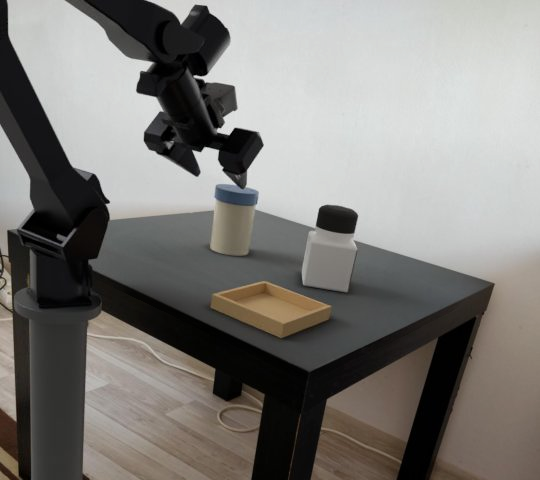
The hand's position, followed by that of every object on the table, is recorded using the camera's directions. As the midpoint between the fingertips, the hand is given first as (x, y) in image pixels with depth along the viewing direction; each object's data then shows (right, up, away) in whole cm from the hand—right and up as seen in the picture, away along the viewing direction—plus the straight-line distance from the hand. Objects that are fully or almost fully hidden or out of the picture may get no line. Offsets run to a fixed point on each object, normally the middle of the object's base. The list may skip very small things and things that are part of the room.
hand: (220, 180), depth 93 cm
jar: (+1, -9, +9) cm, 13 cm away
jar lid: (+2, 0, +5) cm, 5 cm away
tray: (+8, -23, -17) cm, 29 cm away
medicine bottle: (+16, -16, 0) cm, 23 cm away
